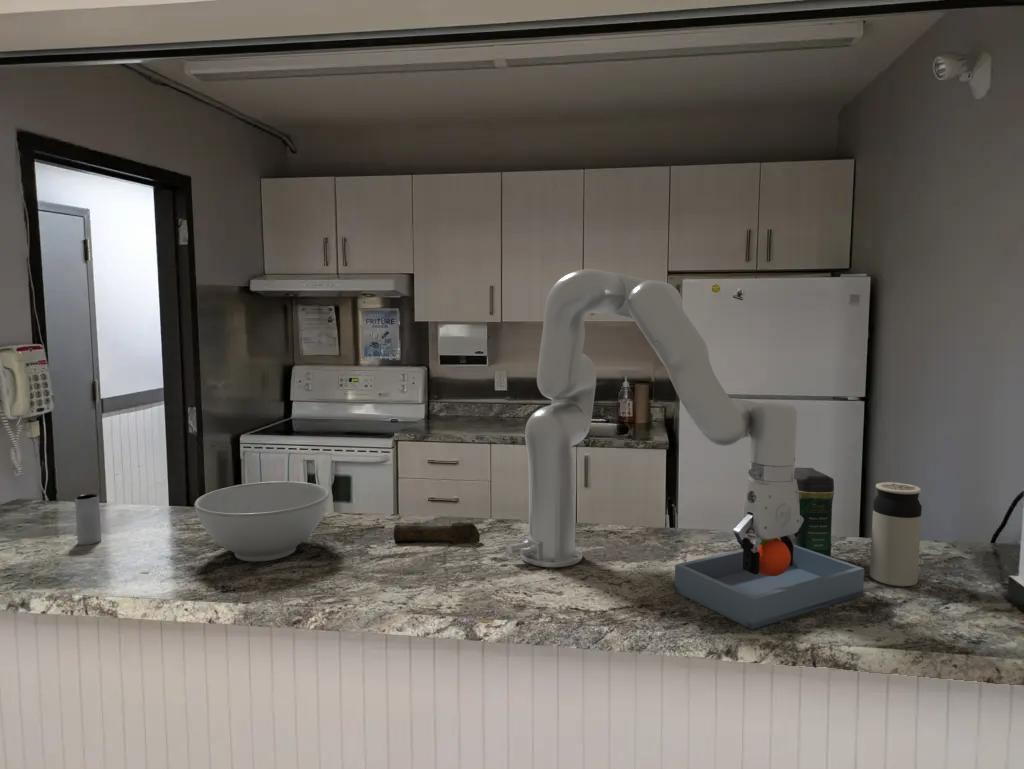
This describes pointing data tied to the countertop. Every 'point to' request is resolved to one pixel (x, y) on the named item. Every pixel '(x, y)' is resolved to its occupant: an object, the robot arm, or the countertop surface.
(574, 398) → the robot arm
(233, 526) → the decorative bowl
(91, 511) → the gray cylinder
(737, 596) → the bin
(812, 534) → the coffee jar
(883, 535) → the travel mug
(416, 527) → the hand tool
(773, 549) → the clementine
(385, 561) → the countertop surface
